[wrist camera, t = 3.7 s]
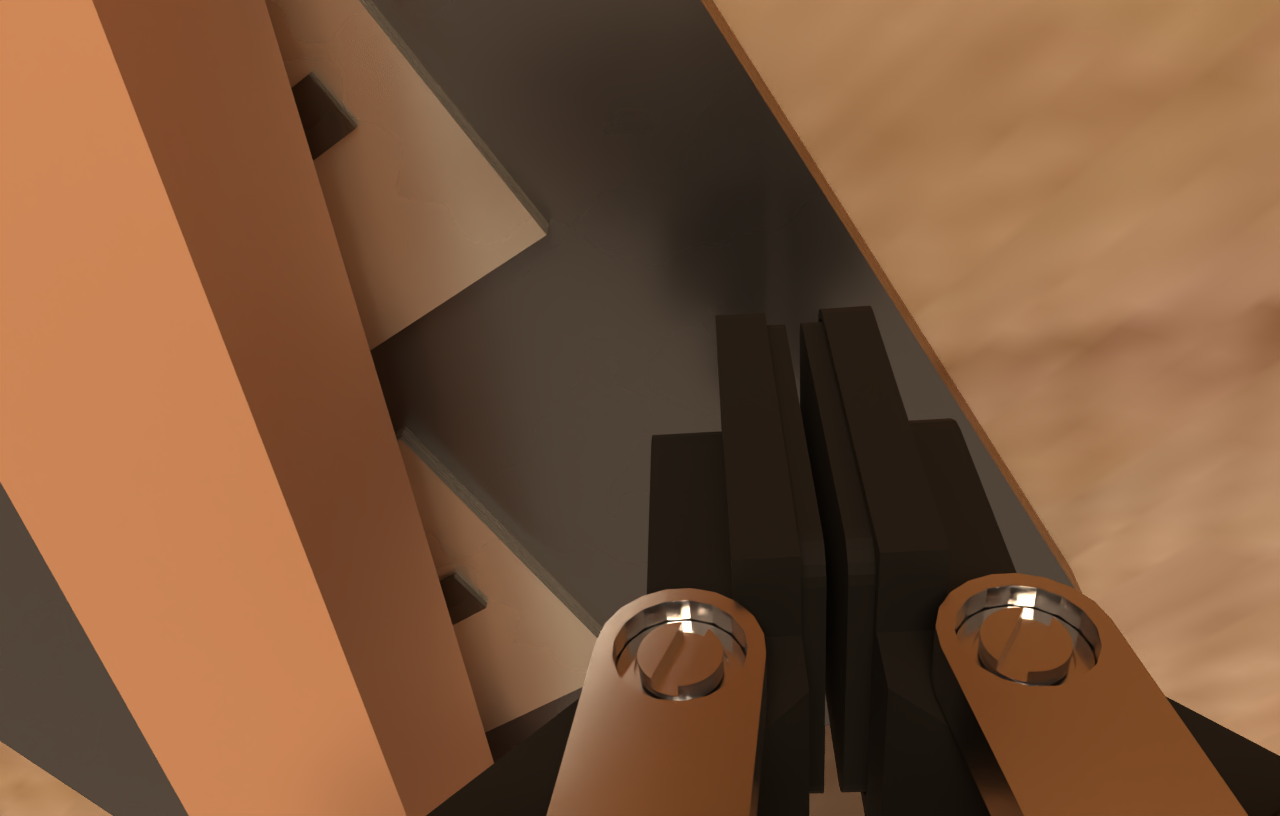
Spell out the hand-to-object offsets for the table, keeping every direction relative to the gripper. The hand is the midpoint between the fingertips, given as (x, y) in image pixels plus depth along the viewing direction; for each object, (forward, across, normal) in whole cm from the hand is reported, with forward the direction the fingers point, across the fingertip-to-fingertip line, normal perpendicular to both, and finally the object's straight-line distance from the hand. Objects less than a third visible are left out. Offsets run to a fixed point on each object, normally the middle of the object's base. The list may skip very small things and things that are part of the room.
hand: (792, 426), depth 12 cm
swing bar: (+1, +6, +1) cm, 6 cm away
